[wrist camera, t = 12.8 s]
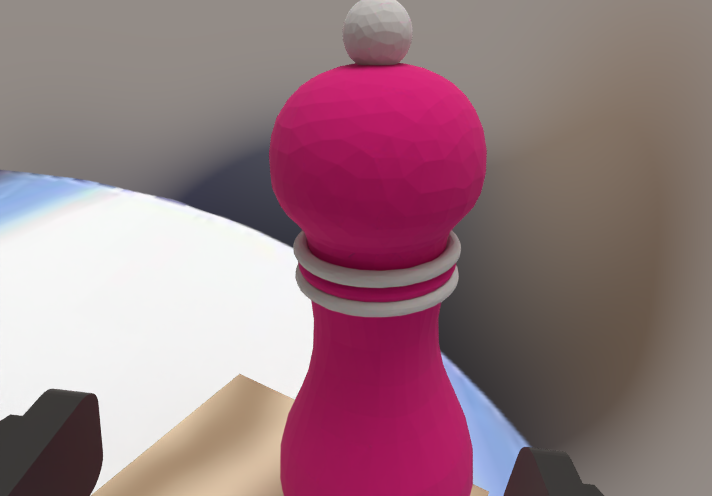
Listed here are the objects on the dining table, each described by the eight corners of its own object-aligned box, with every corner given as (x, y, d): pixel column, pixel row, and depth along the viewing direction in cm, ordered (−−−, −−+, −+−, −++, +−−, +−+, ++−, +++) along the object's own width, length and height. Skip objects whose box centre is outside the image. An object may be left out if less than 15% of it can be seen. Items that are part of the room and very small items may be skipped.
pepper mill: (340, 443, 25) (324, 2, 17) (483, 499, 22) (552, -6, 14) (251, 574, 19) (157, -5, 11) (428, 674, 16) (490, -21, 8)
